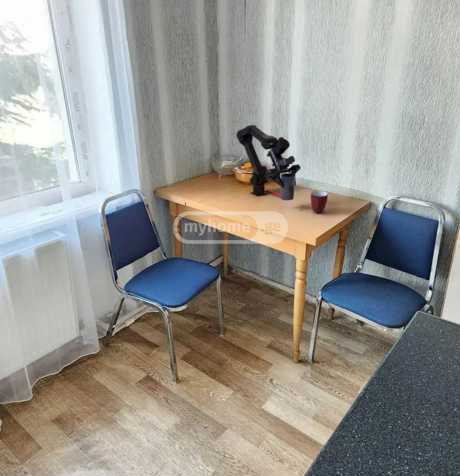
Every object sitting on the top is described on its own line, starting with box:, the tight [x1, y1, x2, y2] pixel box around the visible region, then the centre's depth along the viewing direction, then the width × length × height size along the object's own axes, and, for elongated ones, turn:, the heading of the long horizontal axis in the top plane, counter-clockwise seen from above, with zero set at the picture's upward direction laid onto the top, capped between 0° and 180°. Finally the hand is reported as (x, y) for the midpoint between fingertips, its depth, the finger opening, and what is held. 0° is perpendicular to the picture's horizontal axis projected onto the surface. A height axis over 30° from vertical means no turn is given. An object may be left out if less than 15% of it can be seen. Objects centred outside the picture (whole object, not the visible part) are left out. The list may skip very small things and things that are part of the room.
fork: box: [265, 188, 280, 198], centre depth 222 cm, size 16×3×1 cm, turn 36°
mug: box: [310, 190, 329, 215], centre depth 195 cm, size 11×8×10 cm
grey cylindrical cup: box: [279, 172, 296, 201], centre depth 198 cm, size 7×7×12 cm
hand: (289, 186), depth 196 cm, fingers closed on grey cylindrical cup, 7 cm apart
